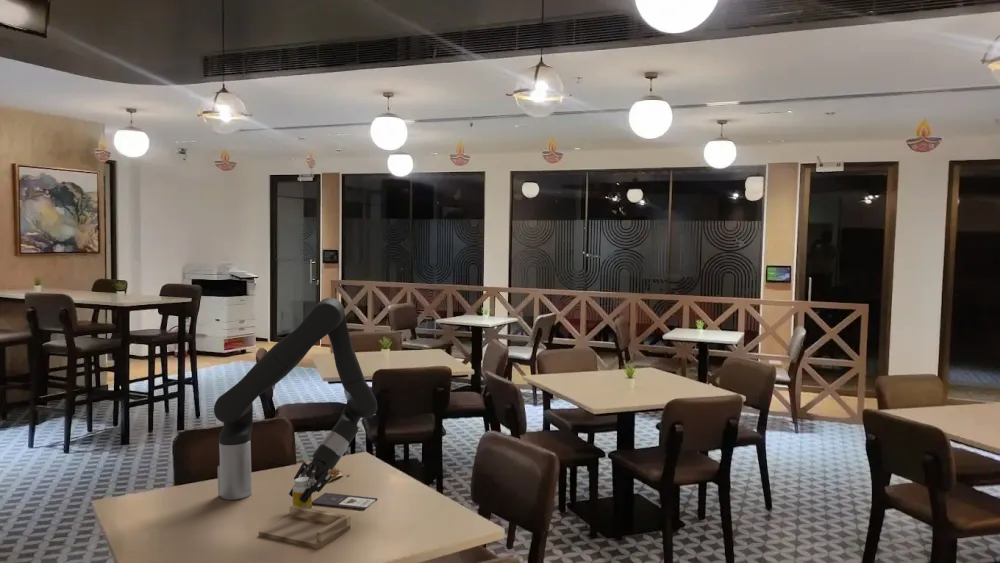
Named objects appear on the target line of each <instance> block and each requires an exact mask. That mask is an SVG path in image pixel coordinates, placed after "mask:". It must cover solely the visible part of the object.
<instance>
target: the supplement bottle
mask: <svg viewBox="0 0 1000 563" xmlns="http://www.w3.org/2000/svg"><path fill="white" fill-rule="evenodd" d="M299 477H300V476H299ZM309 483H310V482H309V478H307V476H306V477H300V478H297V479H295V480H294V485H296V486H294V485H293V487H292V488H293V497H292V506H293V505H294V506H299V507H305V508H310V509H313V507H312V506H313V505H312V501H313V500H312V495H311V496H310V497H309V499H308V500H307V501H306V503H303V502H302V501H300V500H299V498H300V497H301V495H302V494H303V492H304V491H305V490H306V488H307V489H308V485H309Z"/></svg>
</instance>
